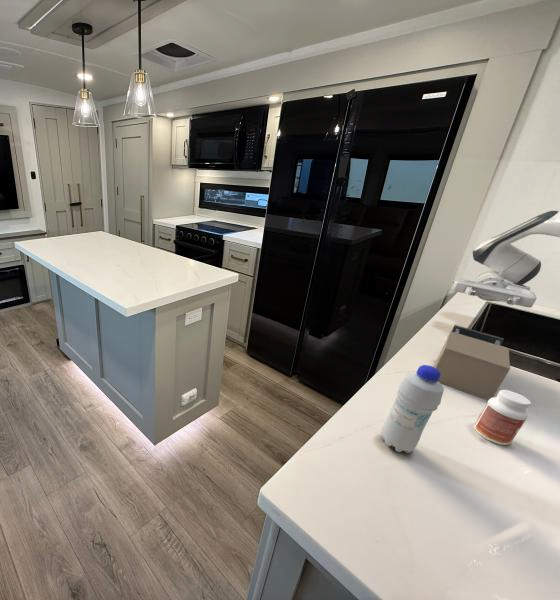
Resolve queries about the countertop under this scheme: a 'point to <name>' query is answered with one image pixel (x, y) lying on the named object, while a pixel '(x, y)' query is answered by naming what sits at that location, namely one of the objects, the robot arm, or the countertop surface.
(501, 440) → the pill bottle
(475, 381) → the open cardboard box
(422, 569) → the countertop surface
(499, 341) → the detergent drawer
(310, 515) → the countertop surface
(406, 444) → the bottle
